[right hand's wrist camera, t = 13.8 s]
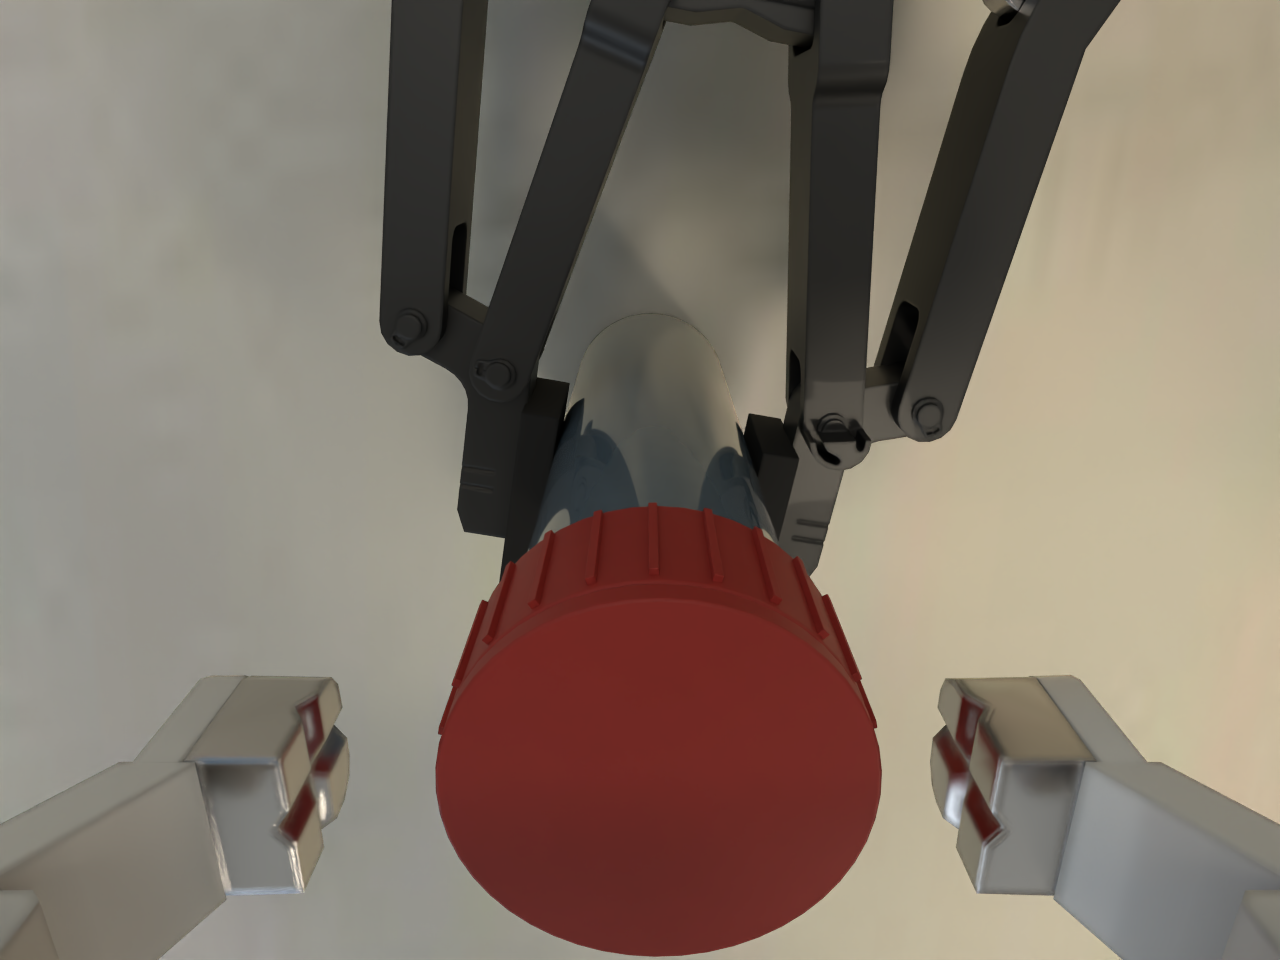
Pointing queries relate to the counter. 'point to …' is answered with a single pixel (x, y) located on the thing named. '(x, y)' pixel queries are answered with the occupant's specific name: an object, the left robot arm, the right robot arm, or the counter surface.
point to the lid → (657, 737)
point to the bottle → (651, 431)
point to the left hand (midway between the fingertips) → (612, 666)
